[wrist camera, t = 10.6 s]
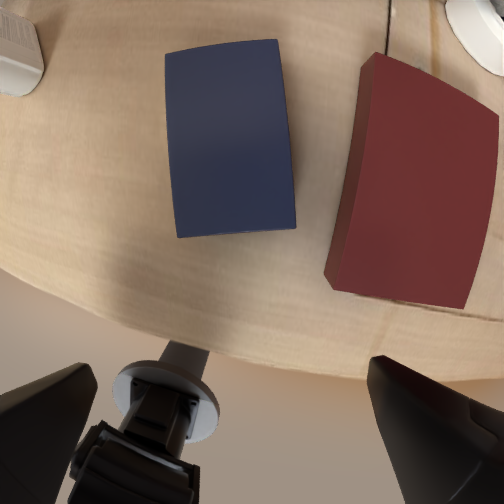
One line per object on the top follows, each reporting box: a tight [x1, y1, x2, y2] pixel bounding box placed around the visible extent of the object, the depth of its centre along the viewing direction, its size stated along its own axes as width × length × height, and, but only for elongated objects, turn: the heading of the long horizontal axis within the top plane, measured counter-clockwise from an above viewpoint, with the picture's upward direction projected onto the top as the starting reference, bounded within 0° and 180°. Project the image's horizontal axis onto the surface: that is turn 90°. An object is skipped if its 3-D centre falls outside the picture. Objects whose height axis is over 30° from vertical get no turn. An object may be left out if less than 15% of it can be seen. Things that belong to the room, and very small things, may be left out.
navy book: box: [165, 39, 296, 238], centre depth 16 cm, size 11×6×4 cm, turn 5°
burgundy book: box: [324, 52, 499, 309], centre depth 16 cm, size 15×11×3 cm
